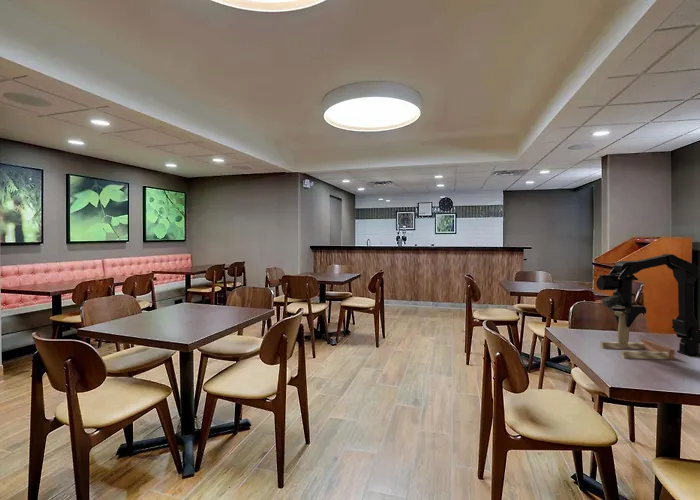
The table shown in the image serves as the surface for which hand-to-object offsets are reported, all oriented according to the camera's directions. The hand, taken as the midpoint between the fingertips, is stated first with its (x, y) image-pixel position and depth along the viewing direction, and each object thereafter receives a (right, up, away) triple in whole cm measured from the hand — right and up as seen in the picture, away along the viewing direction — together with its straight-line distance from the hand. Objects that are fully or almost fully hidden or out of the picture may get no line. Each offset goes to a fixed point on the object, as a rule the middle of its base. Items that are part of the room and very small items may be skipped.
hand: (623, 325), depth 159 cm
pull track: (+5, -12, 0) cm, 13 cm away
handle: (0, -9, 0) cm, 9 cm away
